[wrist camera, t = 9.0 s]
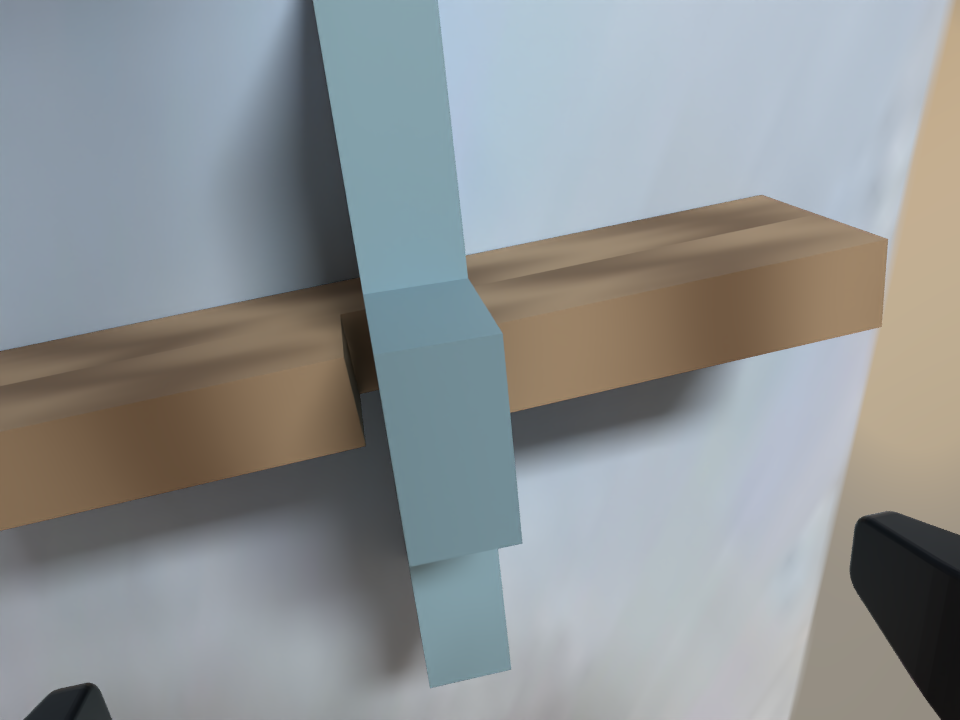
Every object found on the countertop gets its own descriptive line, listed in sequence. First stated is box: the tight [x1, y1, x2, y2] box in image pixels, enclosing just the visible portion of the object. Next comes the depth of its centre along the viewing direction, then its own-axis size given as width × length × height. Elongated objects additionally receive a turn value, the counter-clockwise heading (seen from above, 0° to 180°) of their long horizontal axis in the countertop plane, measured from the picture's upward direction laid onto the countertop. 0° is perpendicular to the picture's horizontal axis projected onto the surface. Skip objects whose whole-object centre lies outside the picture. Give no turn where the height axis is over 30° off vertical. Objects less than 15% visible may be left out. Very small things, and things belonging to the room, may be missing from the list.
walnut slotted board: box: [0, 195, 888, 531], centre depth 17 cm, size 20×2×5 cm, turn 99°
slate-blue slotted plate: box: [313, 0, 522, 688], centre depth 16 cm, size 16×2×8 cm, turn 6°
